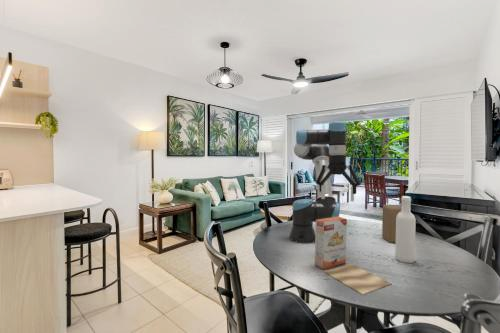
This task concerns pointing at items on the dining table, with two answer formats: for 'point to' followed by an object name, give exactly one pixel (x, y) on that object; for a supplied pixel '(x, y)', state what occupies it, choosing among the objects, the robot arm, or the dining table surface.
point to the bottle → (405, 233)
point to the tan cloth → (357, 278)
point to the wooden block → (390, 222)
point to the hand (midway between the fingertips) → (337, 199)
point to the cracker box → (330, 242)
